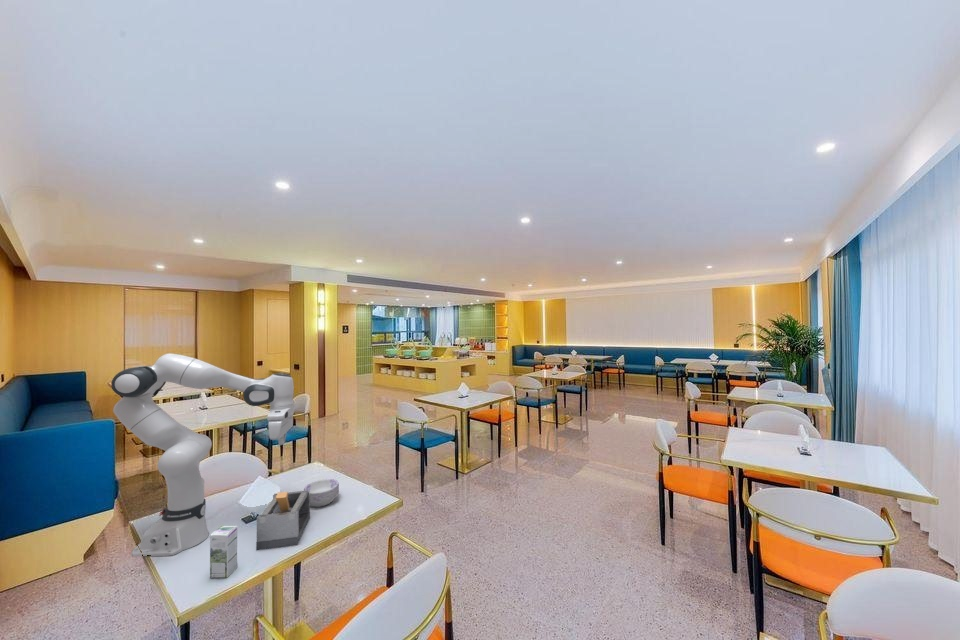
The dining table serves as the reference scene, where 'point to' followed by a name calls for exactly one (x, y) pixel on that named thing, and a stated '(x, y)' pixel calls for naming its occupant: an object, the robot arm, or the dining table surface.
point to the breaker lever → (283, 502)
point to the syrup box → (223, 551)
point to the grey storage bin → (283, 522)
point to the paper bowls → (322, 491)
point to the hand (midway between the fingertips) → (281, 443)
